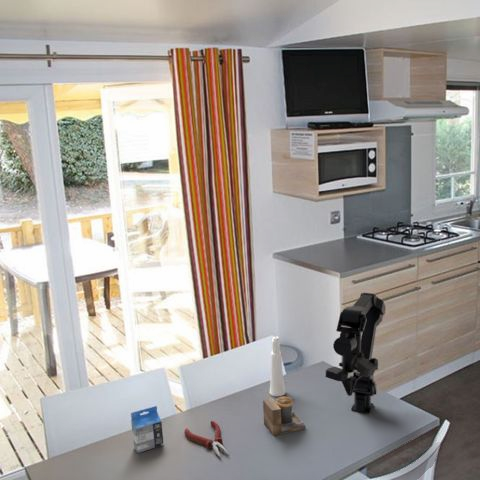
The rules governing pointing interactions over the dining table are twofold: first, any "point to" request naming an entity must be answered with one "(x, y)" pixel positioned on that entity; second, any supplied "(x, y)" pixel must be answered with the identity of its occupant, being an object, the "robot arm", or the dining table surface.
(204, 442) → the pliers
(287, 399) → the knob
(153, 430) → the label tape box
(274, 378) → the cosmetic bottle
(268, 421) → the mount
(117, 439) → the dining table surface
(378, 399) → the dining table surface
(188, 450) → the dining table surface
